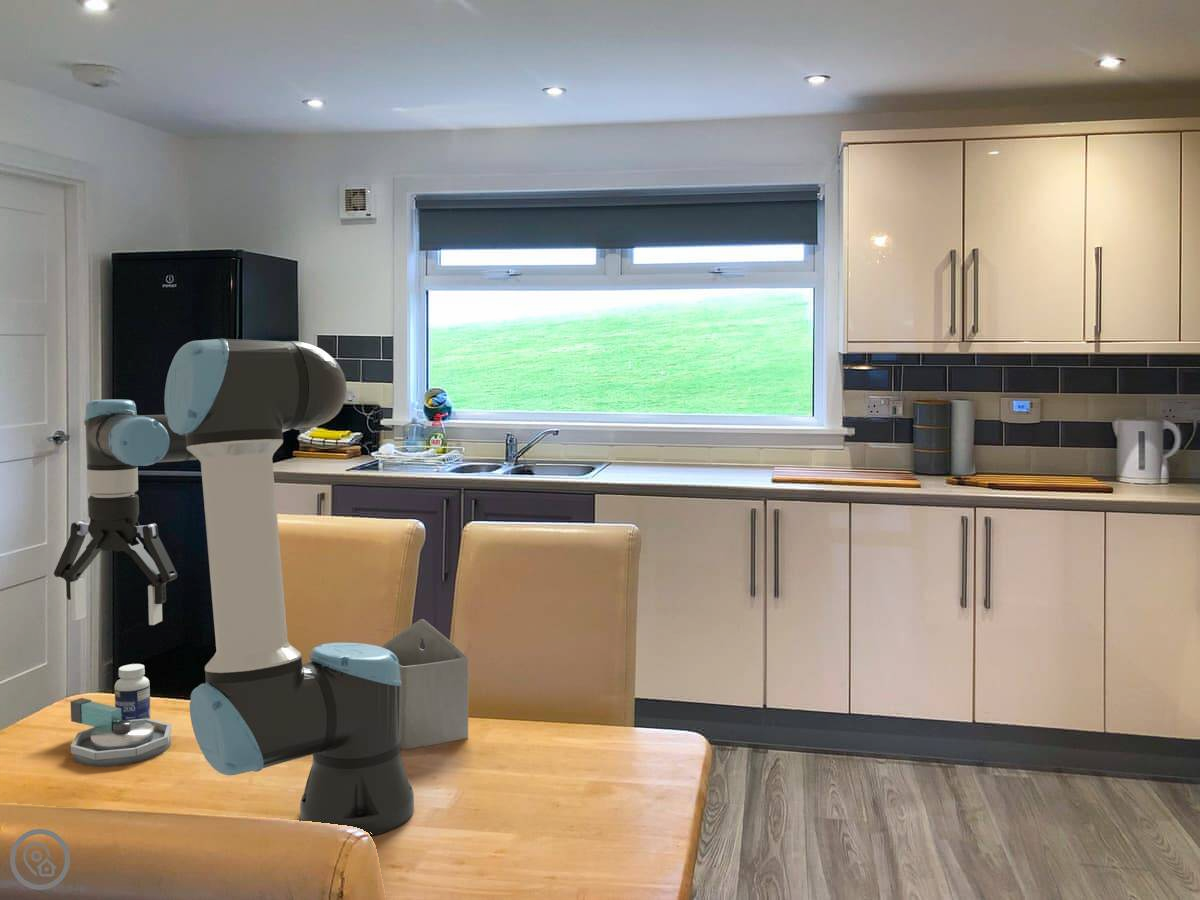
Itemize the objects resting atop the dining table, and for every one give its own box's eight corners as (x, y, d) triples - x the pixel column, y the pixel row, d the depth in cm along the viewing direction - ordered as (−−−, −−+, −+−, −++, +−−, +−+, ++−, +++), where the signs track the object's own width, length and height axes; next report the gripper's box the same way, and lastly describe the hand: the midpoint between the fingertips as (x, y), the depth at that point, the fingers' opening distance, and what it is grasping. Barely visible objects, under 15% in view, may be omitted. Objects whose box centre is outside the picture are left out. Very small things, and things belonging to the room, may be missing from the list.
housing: (190, 742, 164) (189, 728, 163) (113, 773, 151) (112, 758, 151) (131, 727, 170) (131, 714, 170) (53, 755, 158) (52, 741, 158)
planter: (356, 744, 164) (354, 626, 162) (379, 727, 171) (378, 615, 170) (449, 755, 159) (449, 634, 158) (469, 737, 167) (468, 622, 165)
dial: (166, 735, 162) (165, 707, 162) (116, 754, 154) (115, 724, 154) (101, 719, 170) (100, 691, 169) (51, 736, 162) (50, 707, 161)
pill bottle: (108, 726, 170) (106, 670, 169) (131, 716, 175) (130, 661, 175) (134, 730, 169) (133, 673, 168) (157, 719, 174) (156, 664, 173)
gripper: (197, 493, 168) (199, 618, 170) (57, 488, 171) (61, 611, 173) (173, 499, 161) (176, 630, 163) (27, 494, 163) (32, 623, 165)
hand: (117, 621), depth 168 cm, fingers open, 13 cm apart
